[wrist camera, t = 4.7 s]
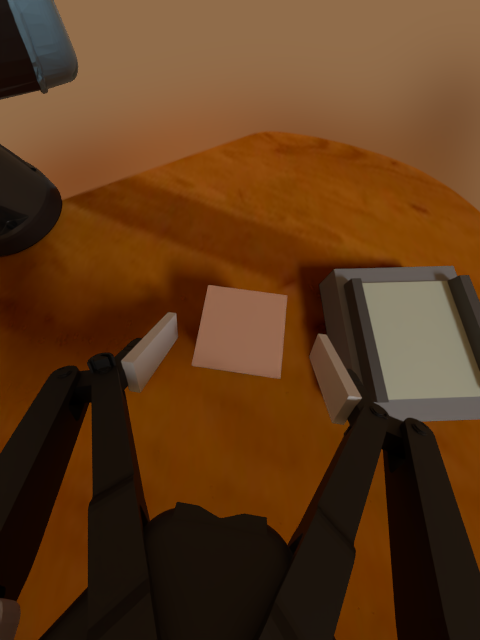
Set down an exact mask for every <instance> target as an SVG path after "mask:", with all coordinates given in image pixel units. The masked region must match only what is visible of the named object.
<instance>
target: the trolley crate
mask: <svg viewBox="0 0 480 640" xmlns="http://www.w3.org/2000/svg"><path fill="white" fill-rule="evenodd" d="M286 304H287V295H279V294H272V293H265V292H257V291H250V290H242V289H235V288H228V287H220V286H213V285H208V288H207V293H206V298H205V303H204V308H203V313H202V317H201V322H200V327H199V332H198V337H197V342H196V347H195V351H194V356H193V361H192V366H197V367H204V368H211V369H218V370H224V371H231V372H238V373H244V374H251V375H258V376H265V377H271V378H278V379H280V378H281V365H282V353H283V341H284V328H285V316H286Z"/></svg>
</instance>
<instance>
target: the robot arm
mask: <svg viewBox="0 0 480 640" xmlns="http://www.w3.org/2000/svg"><path fill="white" fill-rule="evenodd" d="M77 73H78V62H77V57H76V54H75V51H74V49H73V46H72V44H71V41H70V39H69V36H68V34H67V31H66V29H65V26H64V24H63V22H62V19H61V17H60V14H59V12H58V10H57V8H56V5H55V3H54V0H0V99H4V98H9V97H13V96H17V95H22V94H26V93H30V92H34V91H39V90H40V91H41V92H42V93H43V94H45V93H47V92H48V89H49V88H52V87H55V86H59V85H62V84H65V83H68V82H71V81H73V80H74V79H75V78H76V76H77ZM61 206H62V200H61V196H60V193H59V191H58V189H57V188H56V186H54V184H53V183H52V182H50V180H49V179H48V178H47V177H45V175H44V174H43V173H41V171H39V170H38V169H37V168H35V167H34V166H32V165H31V164H29V163H27V162H25V161H24V160H22V159H21V158H20V157H18V156H17V155H15V154H14V153H12V152H11V151H10V150H8V149H7V148H5V147H4V146H2V145H1V144H0V256H5V255H9V254H13V253H16V252H19V251H21V250H24V249H26V248H28V247H30V246H31V245H33V244H35V243H36V242H38V241H39V240H40V239H42V238H43V237H44V236H45V235H46V234H47V233H48V232H49V231H50V230H51V229H52V227H53V226H54V224H55V223H56V221H57V219H58V217H59V215H60V212H61ZM177 338H178V328H177V315H176V313H171V312H168V313H167V314H166V315H165V316H164V317H163V318H162V319H161V320H160V321H159V322H158V323H157V324H156V325H155V326H154V327H153V328H152V329H151V330H150V331H149V332H148V333H147V335H146V336H145V337H144V338H143V339H142V338H136V339H135V340H133V341H131V342H130V343H129V344H128V345H127V346H126V347H125V348H124V349H123V350H122V351H121V352H120V353H118V354H117V355H116V356H115V357H114V356H113V354H111V353H100V354H97V355H95V356H93V357H91V358H90V359H89V360H88V362H87V365H88V367H89V369H90V370H88V371H79V370H78V368H77V367H76V366H65V367H62V368H59V369H57V370H56V371H54V372H53V373H52V374H51V375H50V376H49V378H48V379H47V381H46V382H45V384H44V385H43V387H42V389H41V390H40V392H39V393H38V395H37V397H36V398H35V400H34V401H33V403H32V404H31V406H30V408H29V409H28V411H27V412H26V414H25V416H24V417H23V419H22V420H21V422H20V423H19V425H18V427H17V428H16V430H15V431H14V433H13V434H12V436H11V438H10V439H9V441H8V442H7V444H6V446H5V447H4V449H3V450H2V452H1V453H0V640H13V639H14V637H15V634H16V630H17V627H18V624H19V619H20V614H21V613H20V606H19V604H18V603H17V599H18V597H19V595H20V592H21V590H22V588H23V586H24V584H25V582H26V580H27V577H28V575H29V573H30V570H31V568H32V565H33V563H34V560H35V557H36V555H37V552H38V549H39V547H40V544H41V541H42V538H43V535H44V532H45V529H46V526H47V523H48V521H49V518H50V515H51V512H52V509H53V506H54V503H55V500H56V497H57V495H58V492H59V489H60V486H61V483H62V480H63V477H64V474H65V471H66V469H67V466H68V463H69V460H70V457H71V454H72V451H73V448H74V446H75V443H76V440H77V437H78V434H79V431H80V428H81V425H82V422H83V420H84V417H85V414H86V411H87V408H88V405H89V403H90V402H92V469H93V497H92V500H91V501H90V503H89V508H88V587H87V588H86V589H85V590H84V592H83V593H82V594H81V595H80V596H79V597H78V598H77V599H76V600H75V601H74V602H73V603H72V604H71V605H70V607H69V608H68V609H67V610H66V611H65V612H64V613H63V614H62V615H61V616H60V617H59V618H58V619H57V620H56V621H55V623H54V624H53V625H52V626H51V627H50V628H49V629H48V630H47V631H46V632H45V633H44V634H43V635H42V636H41V637H40V639H39V640H336V639H335V637H334V633H335V630H336V626H337V622H338V619H339V615H340V611H341V608H342V604H343V601H344V597H345V593H346V590H347V586H348V582H349V579H350V575H351V571H352V568H353V564H354V560H355V553H356V550H355V548H354V540H355V536H356V533H357V530H358V526H359V523H360V519H361V516H362V513H363V509H364V506H365V502H366V499H367V496H368V492H369V489H370V485H371V482H372V479H373V475H374V472H375V468H376V465H377V462H378V458H379V455H380V452H381V449H383V457H384V471H385V484H386V498H387V511H388V524H389V538H390V551H391V565H392V578H393V592H394V605H395V619H396V628H397V637H398V640H480V572H479V569H478V566H477V563H476V560H475V557H474V554H473V551H472V548H471V545H470V542H469V539H468V536H467V533H466V530H465V527H464V524H463V521H462V518H461V514H460V511H459V508H458V505H457V502H456V499H455V496H454V493H453V490H452V487H451V484H450V481H449V478H448V475H447V472H446V469H445V466H444V463H443V460H442V457H441V454H440V451H439V448H438V445H437V442H436V439H435V436H434V434H433V432H432V431H431V430H430V429H429V427H428V426H426V425H425V424H424V423H422V422H421V421H419V420H417V419H414V418H406V419H405V420H404V421H401V420H399V419H396V418H394V417H391V416H389V414H388V412H387V411H386V410H385V409H384V408H382V407H381V406H380V405H378V404H376V403H374V402H373V400H372V399H371V397H370V395H369V394H368V392H367V390H366V389H365V387H364V386H363V384H362V382H361V381H360V379H359V377H358V376H357V374H356V373H355V372H354V371H353V370H351V369H348V368H345V367H344V365H343V363H342V361H341V360H340V358H339V356H338V354H337V352H336V351H335V349H334V347H333V345H332V343H331V342H330V340H329V338H328V336H327V335H325V334H318V335H317V338H316V340H315V343H314V345H313V348H312V350H311V353H310V355H309V358H310V361H311V364H312V366H313V369H314V372H315V375H316V378H317V381H318V384H319V387H320V389H321V392H322V395H323V398H324V401H325V404H326V407H327V410H328V412H329V415H330V418H331V421H332V423H337V424H343V425H344V423H345V422H346V420H347V419H348V422H349V424H350V426H349V427H348V429H347V430H346V431H345V433H344V437H343V439H342V441H341V443H340V445H339V447H338V449H337V451H336V453H335V455H334V457H333V459H332V461H331V463H330V465H329V467H328V469H327V471H326V473H325V475H324V477H323V479H322V481H321V482H320V484H319V486H318V488H317V490H316V492H315V494H314V496H313V498H312V500H311V502H310V504H309V506H308V508H307V510H306V512H305V514H304V516H303V518H302V520H301V522H300V524H299V526H298V528H297V529H296V531H295V532H294V534H293V536H292V538H291V539H290V541H289V543H288V545H287V544H286V542H285V541H284V540H283V538H282V537H281V536H280V535H279V534H278V533H277V532H276V531H275V530H274V529H273V528H271V527H270V526H268V525H267V518H266V517H260V516H255V515H249V514H240V515H235V516H230V517H225V518H219V517H217V516H215V515H213V514H212V513H210V512H208V511H207V510H205V509H203V508H202V507H200V506H198V505H192V504H187V503H181V502H177V503H176V507H175V508H173V509H170V510H167V511H164V512H163V513H161V514H159V515H157V516H156V517H155V518H153V519H152V520H151V521H150V520H149V515H148V510H147V506H146V502H145V498H144V493H143V488H142V482H141V477H140V471H139V466H138V460H137V455H136V449H135V444H134V439H133V433H132V428H131V422H130V417H129V411H128V406H127V400H126V395H125V391H124V390H125V388H126V387H127V386H128V387H129V390H130V391H134V392H141V391H142V390H143V388H144V387H145V385H146V384H147V382H148V381H149V379H150V378H151V376H152V375H153V373H154V372H155V371H156V369H157V368H158V366H159V365H160V363H161V362H162V360H163V359H164V357H165V356H166V354H167V353H168V351H169V350H170V349H171V347H172V346H173V344H174V343H175V341H176V340H177Z"/></svg>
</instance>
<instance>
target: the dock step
mask: <svg viewBox="0 0 480 640" xmlns="http://www.w3.org/2000/svg"><path fill="white" fill-rule="evenodd" d="M319 287H320V293H321V299H322V306H323V312H324V318H325V324H326V331H327V336H328V338H329V340H330V342H331V343H332V345H333V347H334V349H335V351H336V352H337V354H338V356H339V358H340V360H341V361H342V363H343V365H344V367H345V368H348V369H351V370H353V371H354V372H355V373H356V374H357V376H358V377H359V379H360V381H361V382H362V384H363V386H364V387H365V389H366V390H367V392H368V394H369V395H370V397H371V399H372V400H373V402H374V403H376V404H378V405H380V406H381V407H382V408H384V409H385V410H386V411H387V412H388V414H389V416H391V417H394V418H396V419H399V420H401V421H404V420H405V419H406V418H414V419H417V420H419V421H444V420H470V419H480V302H479V299H478V297H477V294H476V292H475V289H474V287H473V284H472V282H471V279H470V277H469V275H461V276H457V274H456V272H455V269H454V267H453V266H435V267H395V268H356V269H334V270H333V271H332V272H331V273H330V274H329V275H328V276H327V277H326V278H325V279H324V280H323V281H322V282H321V283H320V284H319Z"/></svg>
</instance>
